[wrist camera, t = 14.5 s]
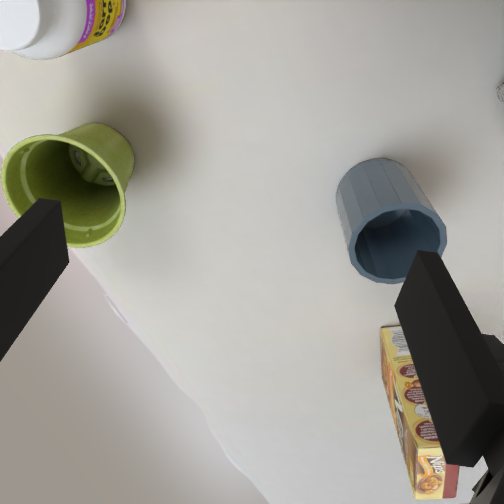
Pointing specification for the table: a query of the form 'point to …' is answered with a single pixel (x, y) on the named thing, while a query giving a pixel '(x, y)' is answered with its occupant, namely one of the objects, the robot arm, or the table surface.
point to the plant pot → (73, 179)
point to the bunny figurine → (501, 92)
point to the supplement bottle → (56, 25)
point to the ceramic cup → (386, 220)
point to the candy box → (414, 421)
